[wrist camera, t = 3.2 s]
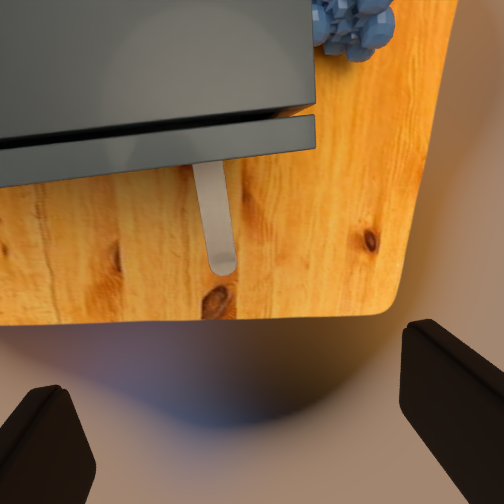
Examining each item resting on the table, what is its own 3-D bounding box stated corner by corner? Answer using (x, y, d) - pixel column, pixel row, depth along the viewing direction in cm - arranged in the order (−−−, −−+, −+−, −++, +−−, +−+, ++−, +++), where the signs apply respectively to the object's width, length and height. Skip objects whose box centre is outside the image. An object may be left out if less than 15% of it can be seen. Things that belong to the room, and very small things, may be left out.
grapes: (235, 19, 28) (252, -73, 17) (280, -50, 27) (331, -197, 16) (324, 104, 31) (388, 76, 20) (367, 47, 30) (461, -17, 19)
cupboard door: (248, 214, 34) (324, 330, 11) (25, 246, 32) (-420, 464, 9) (240, 143, 31) (315, 113, 9) (-3, 172, 29) (-696, 228, 7)
